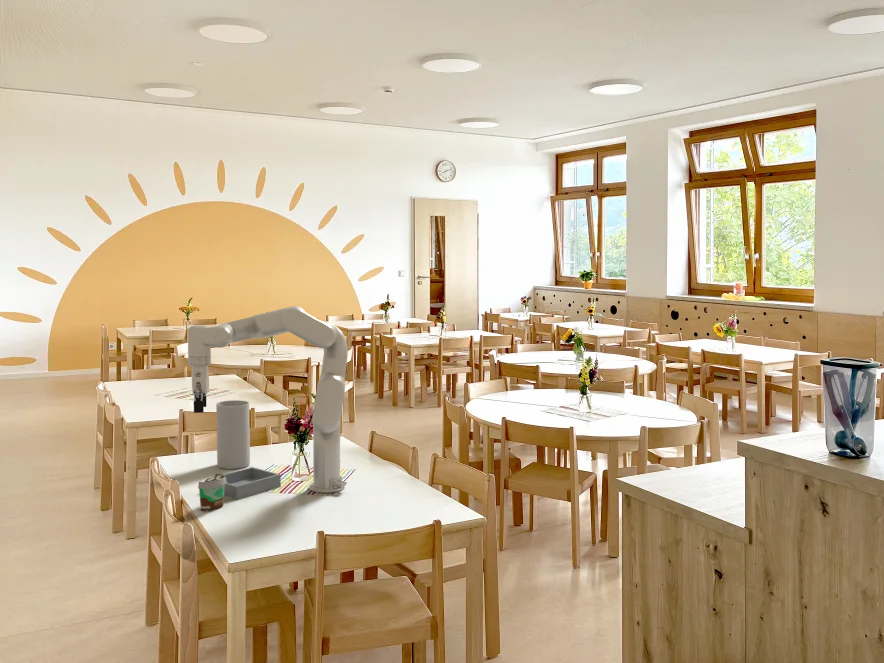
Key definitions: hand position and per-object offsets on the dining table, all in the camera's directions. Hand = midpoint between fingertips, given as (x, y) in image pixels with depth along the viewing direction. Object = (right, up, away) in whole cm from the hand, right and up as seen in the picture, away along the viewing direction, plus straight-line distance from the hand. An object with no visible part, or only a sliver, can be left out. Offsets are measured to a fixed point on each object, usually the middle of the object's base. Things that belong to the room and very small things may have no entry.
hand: (200, 409), depth 275 cm
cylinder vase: (+2, -26, +37) cm, 45 cm away
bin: (+14, -29, +7) cm, 33 cm away
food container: (+10, -31, -14) cm, 35 cm away
